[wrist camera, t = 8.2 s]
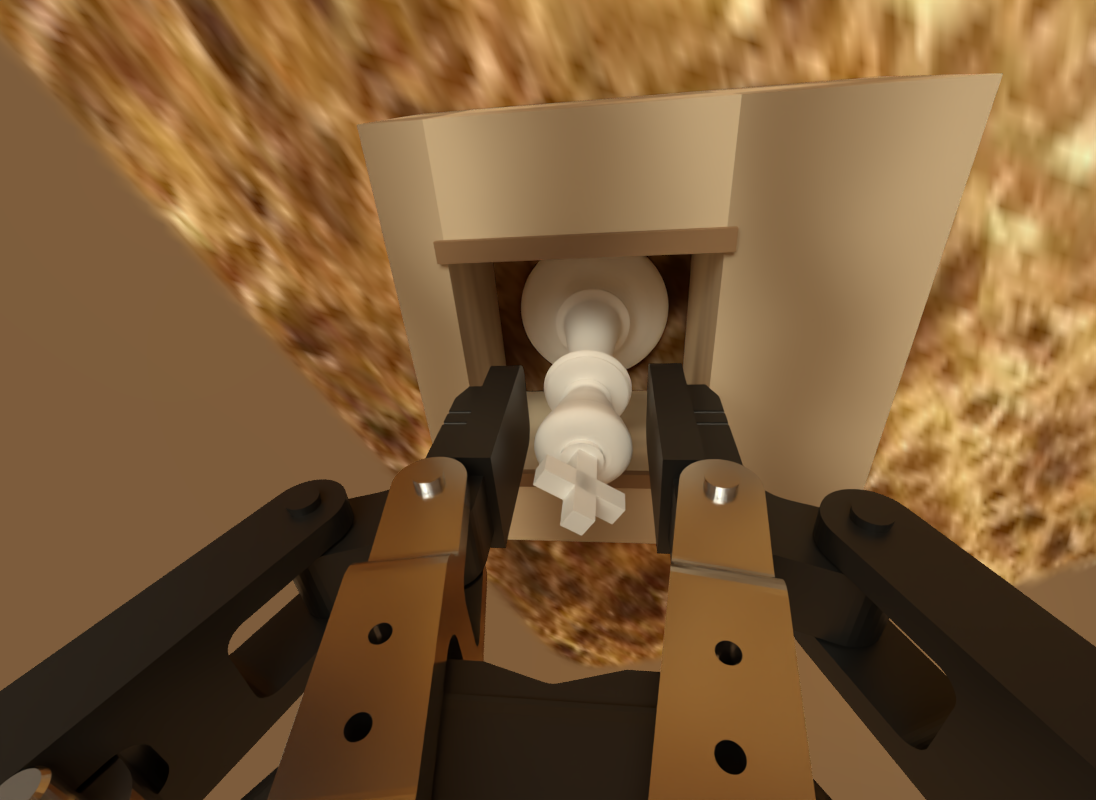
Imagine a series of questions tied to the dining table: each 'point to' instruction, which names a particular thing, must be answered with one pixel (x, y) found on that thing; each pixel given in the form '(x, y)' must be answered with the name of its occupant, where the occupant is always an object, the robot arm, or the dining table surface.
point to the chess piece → (590, 373)
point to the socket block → (695, 252)
